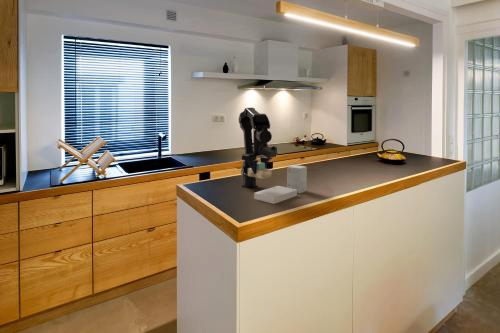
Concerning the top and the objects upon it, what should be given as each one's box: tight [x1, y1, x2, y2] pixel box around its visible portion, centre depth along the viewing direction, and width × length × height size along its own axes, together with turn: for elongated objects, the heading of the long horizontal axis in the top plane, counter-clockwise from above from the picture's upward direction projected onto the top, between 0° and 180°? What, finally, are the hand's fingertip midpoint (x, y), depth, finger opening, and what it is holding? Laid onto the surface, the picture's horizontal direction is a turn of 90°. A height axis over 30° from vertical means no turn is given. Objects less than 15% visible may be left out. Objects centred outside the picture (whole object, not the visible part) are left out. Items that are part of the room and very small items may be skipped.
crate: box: [256, 161, 265, 170], centre depth 152 cm, size 4×4×3 cm
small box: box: [286, 164, 308, 194], centre depth 163 cm, size 8×6×13 cm
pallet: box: [248, 168, 272, 180], centre depth 153 cm, size 10×6×4 cm, turn 46°
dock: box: [253, 185, 298, 205], centre depth 153 cm, size 12×18×3 cm
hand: (259, 173), depth 153 cm, fingers closed on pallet, 6 cm apart
